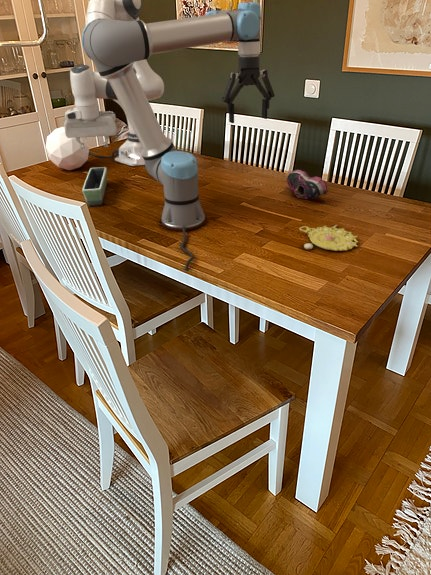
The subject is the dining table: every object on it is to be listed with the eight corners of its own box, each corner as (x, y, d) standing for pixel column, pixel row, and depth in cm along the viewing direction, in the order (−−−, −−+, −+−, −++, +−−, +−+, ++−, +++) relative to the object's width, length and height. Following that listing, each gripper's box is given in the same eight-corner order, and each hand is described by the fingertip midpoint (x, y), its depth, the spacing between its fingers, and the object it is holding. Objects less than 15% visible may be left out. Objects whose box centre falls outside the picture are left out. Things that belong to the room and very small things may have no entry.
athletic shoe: (296, 169, 182) (271, 176, 178) (328, 163, 162) (302, 171, 158) (301, 196, 185) (277, 204, 181) (334, 193, 165) (308, 202, 161)
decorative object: (343, 255, 128) (285, 234, 139) (342, 262, 130) (284, 241, 140) (372, 230, 142) (317, 213, 152) (371, 237, 143) (316, 219, 153)
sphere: (76, 185, 212) (61, 159, 193) (47, 165, 217) (29, 138, 198) (102, 157, 217) (90, 130, 198) (73, 138, 221) (58, 110, 203)
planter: (104, 206, 170) (100, 188, 166) (85, 208, 170) (81, 190, 166) (109, 182, 193) (106, 166, 189) (92, 184, 193) (89, 167, 189)
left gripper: (115, 108, 176) (120, 143, 184) (62, 111, 175) (70, 146, 182) (114, 112, 171) (119, 148, 179) (60, 115, 169) (68, 151, 177)
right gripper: (275, 52, 159) (272, 114, 170) (211, 57, 151) (213, 122, 162) (286, 54, 153) (282, 118, 164) (220, 59, 145) (221, 126, 156)
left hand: (94, 147), depth 181 cm, fingers open, 8 cm apart
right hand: (248, 120), depth 163 cm, fingers open, 13 cm apart
